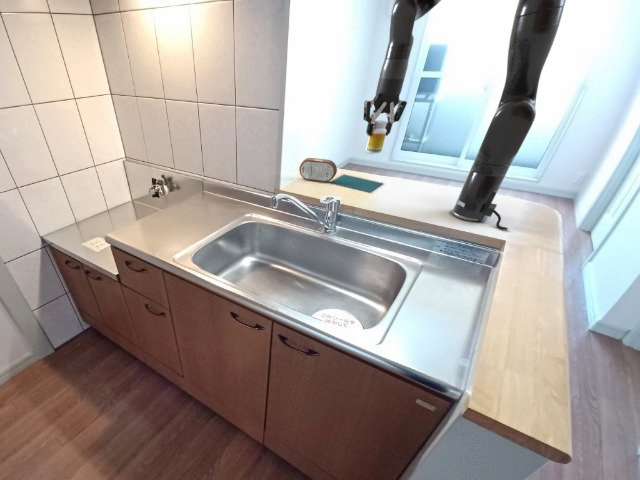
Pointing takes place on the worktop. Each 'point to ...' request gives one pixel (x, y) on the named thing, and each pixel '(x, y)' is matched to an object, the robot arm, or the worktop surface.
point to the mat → (356, 183)
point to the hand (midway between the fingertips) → (377, 135)
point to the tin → (318, 169)
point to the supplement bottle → (377, 137)
